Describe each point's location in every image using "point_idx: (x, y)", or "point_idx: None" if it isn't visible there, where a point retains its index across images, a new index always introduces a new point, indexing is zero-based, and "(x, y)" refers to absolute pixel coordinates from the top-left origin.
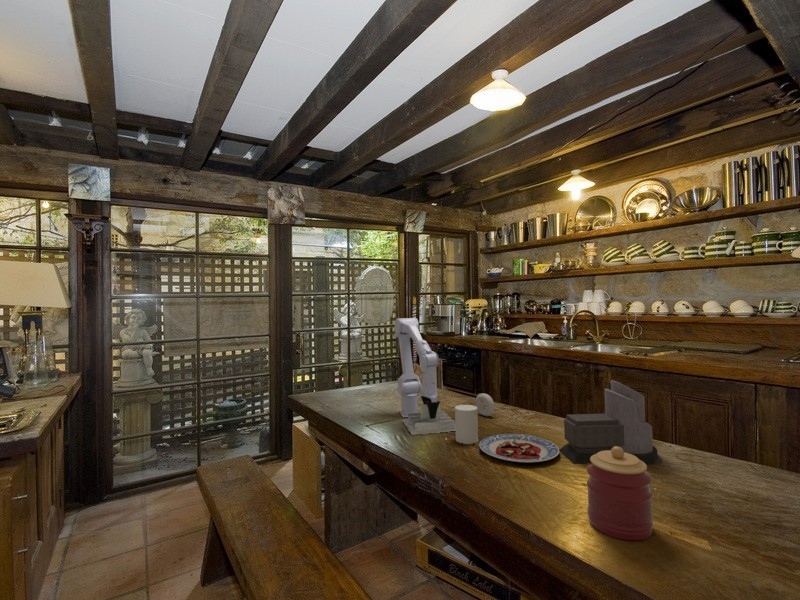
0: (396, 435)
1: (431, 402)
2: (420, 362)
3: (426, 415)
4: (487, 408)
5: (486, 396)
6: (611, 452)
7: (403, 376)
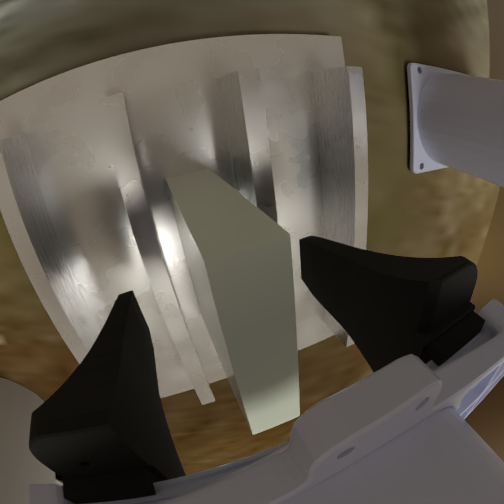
0: (5, 6)
1: (61, 473)
2: None
3: (189, 257)
4: None
5: None
6: None
7: None
